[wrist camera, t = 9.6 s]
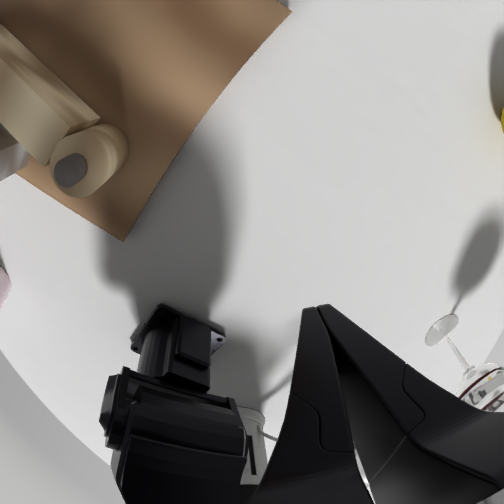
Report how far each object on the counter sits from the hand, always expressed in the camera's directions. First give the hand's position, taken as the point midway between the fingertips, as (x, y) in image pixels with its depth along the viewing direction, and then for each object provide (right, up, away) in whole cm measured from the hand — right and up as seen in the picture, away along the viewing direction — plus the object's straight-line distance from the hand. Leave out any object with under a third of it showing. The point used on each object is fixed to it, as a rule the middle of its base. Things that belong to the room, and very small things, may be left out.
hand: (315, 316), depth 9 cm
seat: (-13, +15, +4) cm, 20 cm away
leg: (-15, +12, +4) cm, 20 cm away
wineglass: (+20, -7, +20) cm, 30 cm away
